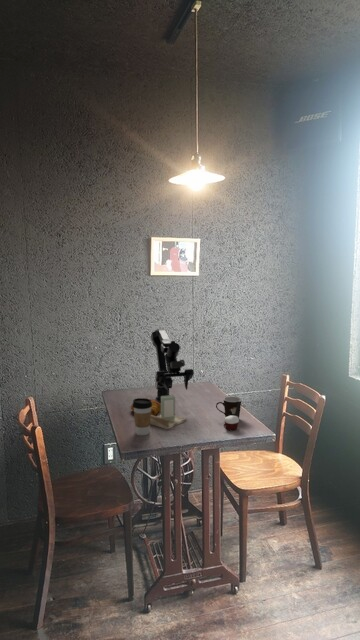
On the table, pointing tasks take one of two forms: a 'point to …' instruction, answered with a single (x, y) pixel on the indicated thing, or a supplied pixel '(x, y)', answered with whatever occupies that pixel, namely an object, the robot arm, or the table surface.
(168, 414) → the sage green box
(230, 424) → the cocoa
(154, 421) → the ledge board
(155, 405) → the croissant
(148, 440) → the table surface
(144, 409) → the coffee cup
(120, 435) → the table surface
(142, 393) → the table surface
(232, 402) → the coffee mug
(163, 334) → the robot arm
